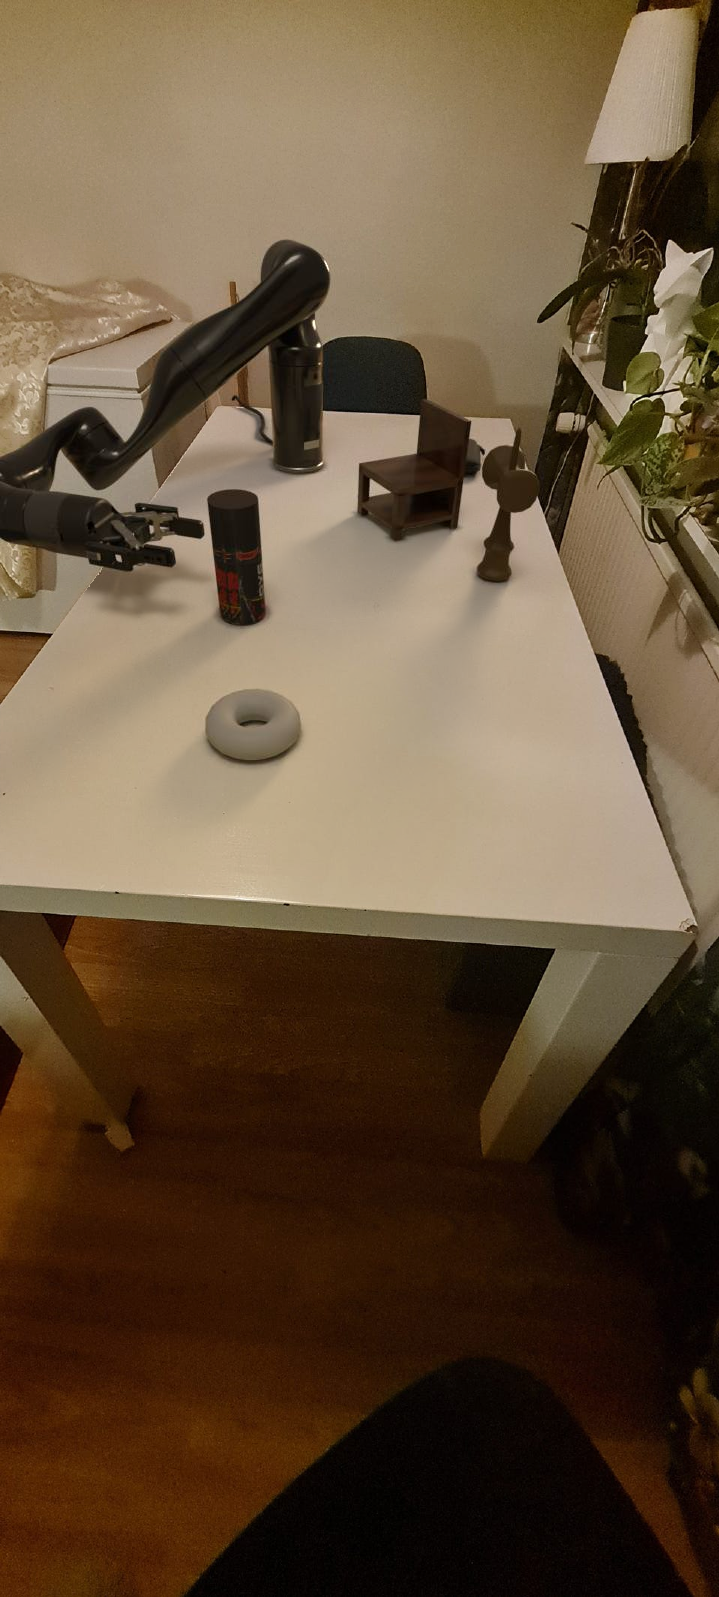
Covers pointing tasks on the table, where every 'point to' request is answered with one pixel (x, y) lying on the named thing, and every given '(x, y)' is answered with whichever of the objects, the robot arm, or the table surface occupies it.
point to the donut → (252, 739)
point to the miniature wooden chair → (420, 475)
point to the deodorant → (237, 555)
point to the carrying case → (473, 458)
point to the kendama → (505, 504)
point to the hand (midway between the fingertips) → (188, 543)
